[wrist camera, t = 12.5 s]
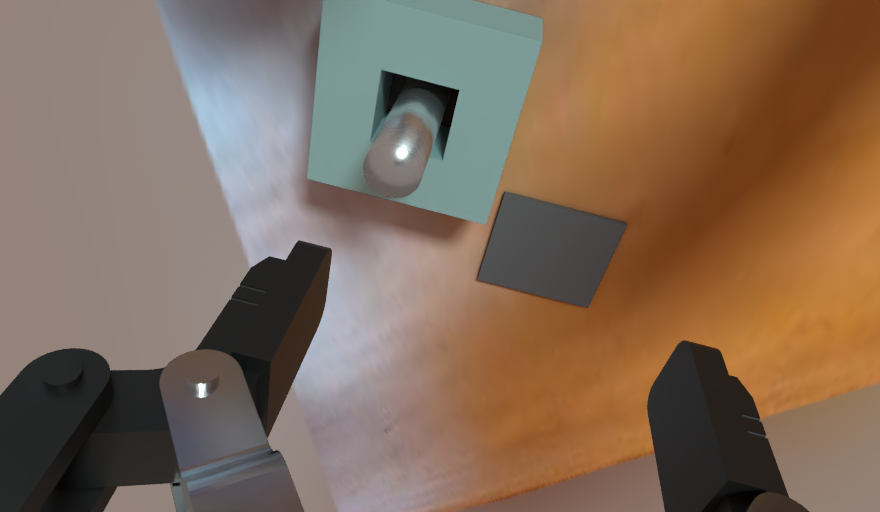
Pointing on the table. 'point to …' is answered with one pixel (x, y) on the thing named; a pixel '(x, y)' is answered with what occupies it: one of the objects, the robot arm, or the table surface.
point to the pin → (406, 139)
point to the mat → (549, 249)
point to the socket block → (433, 60)
